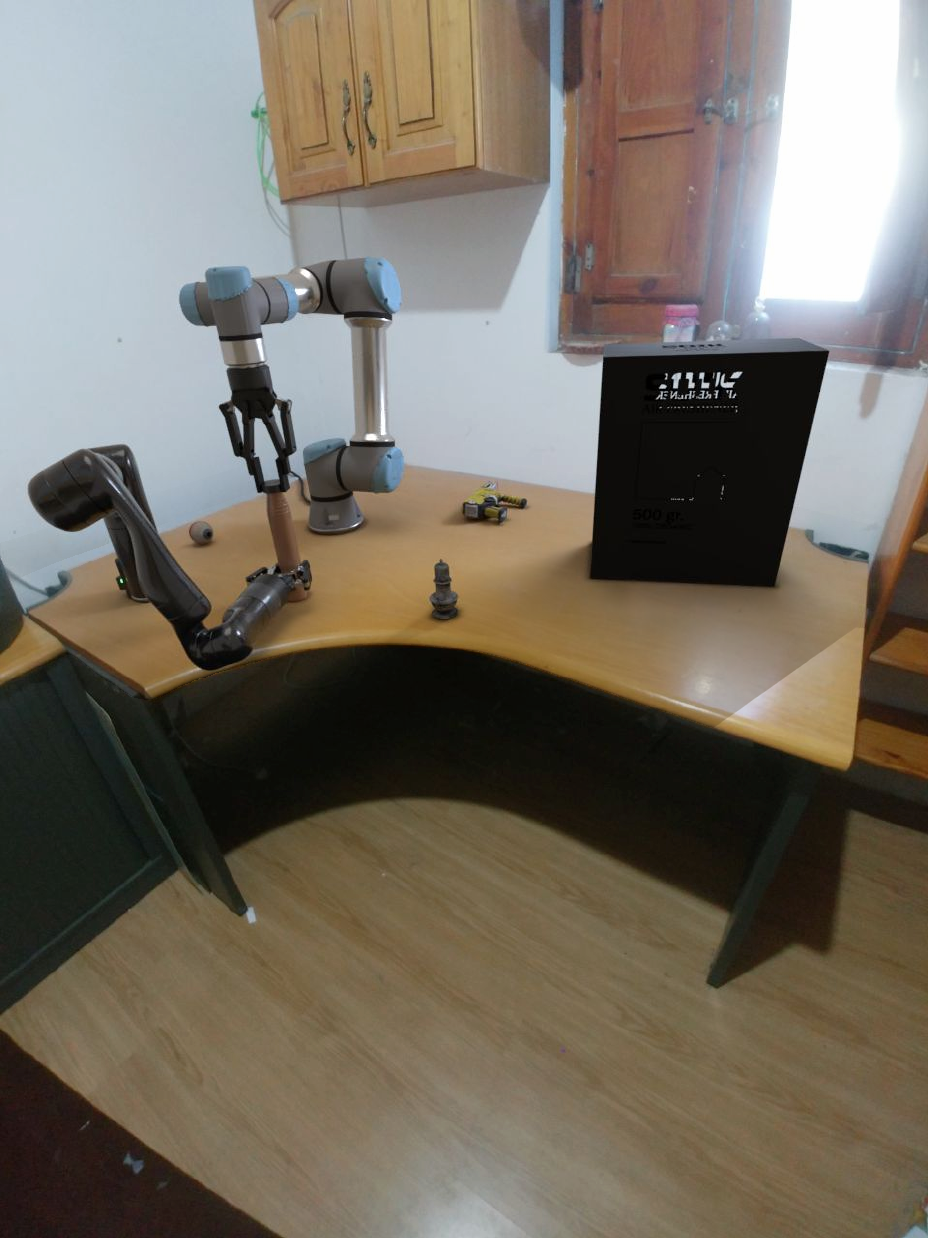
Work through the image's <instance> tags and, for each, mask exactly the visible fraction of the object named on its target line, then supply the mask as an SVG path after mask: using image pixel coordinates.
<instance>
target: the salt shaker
mask: <svg viewBox="0 0 928 1238" xmlns="http://www.w3.org/2000/svg"><path fill="white" fill-rule="evenodd" d="M438 561H439V562H437V563H435V564H434V568H433V570H434V578H433V580H432V581H433V583H434V587H435V591H434V592H432V593H431V594H430V595H429V597H428V600H429V601H430V603H431V605H432V607H433V608H434V609H433V610H432V611H431V615H432V616H433V618H436V619H439V620H448V619H452V618H454V617H456V616H457V615H458V614H459V610H458V608H457V607H456V605H457V603H458V600H459V594H458V592H456V591H453V590H452V587H451V586H452V585H451V582H452V577H450V566H449V563H447V562H444V560H443V559H442V558H440V559H439V560H438Z"/></svg>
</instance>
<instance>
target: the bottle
mask: <svg viewBox="0 0 928 1238" xmlns="http://www.w3.org/2000/svg"><path fill="white" fill-rule="evenodd" d="M265 495H266V497H265V500H266V501H265V503H266V504H265V507H266V515H267V516H266V517H267V521H268V524H269V529H270V534H271V537H272V542H273V546H274V551H275V555H276V560H277V562H278V565H279V569H280V574H281V573H285V572H287V571H288V570H290V569H296V568H297V567H298V566H299V565H300V564H301V563H302V561H301V556H300V553H299V551H300V550H299V547H298V541H297V537H296V533H295V532H296V531H295V528H294V523H293V518H292V514H291V513H292V512H291V508H290V505H289V504H288V501H287V498H286V495H285V494H284V492H279V493H273V494H266V493H265ZM298 576H299V573H298ZM307 597H308V591H305V590H304V588H302V587H301V588H296V590H295V591H293V592H291V593H290V596H289V599H288V601H287V602H299V601H303V600H305V599H306V598H307Z"/></svg>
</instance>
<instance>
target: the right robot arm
mask: <svg viewBox="0 0 928 1238" xmlns="http://www.w3.org/2000/svg"><path fill="white" fill-rule="evenodd" d="M204 278H205V281H194V282H190V283H185V284H184V285H183V286H182V287H181V289H180V290H179V294H178V302H179V307H180V311H181V313H182V314H183V316H184V318H185V319H186V321H188V322H189V323H190V324H192V325H194V326H196V327H206V328H208V327H216V331H217V337H218V340H219V346H220V350H221V355H222V360H223V364H224V365H225V366H228V367H227V368H226V370H225V372H226V376H227V377H226V378H227V381H228V385H229V388H230V389H229V390H230V392H231V395H230V400H228V401H224V402H222V403H220V404H219V405H218V409H219V411H220V413H221V414H222V417H224V420H225V424H226V428H227V432H228V436H229V439H230V444H231V448H232V451H233V454H234V455H233V456H235V457H236V458H243V459H244V460H245V463H246V467H247V472H248V474H249V476H253V480H254V483H255V488H256V493H257V494H262V493H263V491H262V488H261V483H262V482H264V481H265V477H264V473H263V469H262V464H261V460H260V459H261V458H260V456H256V455H257V453H256V452H255V451H256V449H255V447H256V446H255V422H256V419H258V420H261V422H262V424H263V425H264V426H265V429H266V431H267V433H268V435H269V438H270V440H271V442H272V445H273V447H274V450H275V452H276V455H277V458H275V459H274V462H275V466H276V470H277V476H278V479H279V481H280V485H281V490H282V492H283V493H287V492H288V491H289V490H290V489H291V486H290V485H291V484H290V481H289V474H291V475H293V476H295V477H296V478H297V479H298V480H299V482H300V494H301V496H302V498H303V500H304V501H305V502H306V503H308V504H310V507H309V513H308V523H307V524H308V528H309V529H308V530H310V531H311V532H312V533H314V534H317V535H323V536H324V535H325V536H327V535H329V536H331V535H339V534H340V535H341V534H345V533H350V532H353V531H355V530H357V529H359V528H361V527H362V526H363V525H364V523H365V519H364V514H363V512H362V510H361V508H360V505H359V504H358V501H357V500H356V498H355V495H354V492H359V493H374V494H375V495H377V494H390V493H392V492H394V491H396V489H397V488H398V487H399V485H400V483H401V481H402V479H403V476H404V470H405V456H404V454H403V450H402V449H401V448H399V447H398V446H396V440H395V438H394V437H393V436H392V435H391V434H390V423H389V386H388V385H389V384H388V382H389V381H388V353H387V352H388V343H387V330H388V329H389V328H390V327H391V326H392V324H393V315H394V314H397V313H398V312H399V311H400V309H401V305H402V289H401V284H400V281H399V277H398V274H397V273H396V270H395V268H394V267H393V265H392V264H391V263H390V261H388V260H387V258H386V259H385V258H384V257H371V256H366V257H357V258H356V257H355V258H347V259H346V258H345V259H331V260H325V261H321V262H317V263H313V264H309V265H307V266H302V267H295V268H292V269H291V270H289V271H288V273H283V274H273V275H263V276H254V277H253V276H252V274H251V271H250V269H249V268H248V267H247V266H245V265H233V266H215V267H214V266H213V267H208V268H207V269H206V270H205V272H204ZM297 313H298V314H301V315H310V314H318V315H319V314H322V315H331V316H332V315H333V316H334V315H335V316H343V322H344V323H345V325H347V327H348V328H349V330H350V345H351V348H350V349H351V369H352V371H351V372H352V393H353V394H352V395H353V416H354V419H353V420H354V433H353V435H352V436H350V438H349V445H347V441H346V439H345V438H342V437H334V438H328V439H323V440H320V441H319V440H318V441H316V442H313V443H309V444H308V445H306V446H305V447H304V448H303V450H302V457H303V458H302V460H303V467H304V471H305V477H306V481H307V486H308V492H309V498H310V499H309V498H307V496H306V494H305V491H304V490H305V488H304V480H303V479H302V477H301V476H300V474H297V473H296V472H294V471H292V469H291V463H290V456H292V455H293V454H295V453H296V452H297V451H298V450H297V442H296V437H295V431H294V424H293V418H292V405H293V402H292V400H291V399H289V398H287V399H283V398H280V397H278V395H277V393H276V391H275V390H274V386H273V379H272V375H271V370H270V366H268V364H267V363H266V362H267V361H268V355H267V350H266V345H265V340H264V335H263V329H262V326H266V325H273V324H284V323H286V322H289V321H291V320H293V319H294V318H295V317H296V315H297ZM275 406H277V410H278V411H279V414H280V415H279V417H280V423H281V428H282V433H281V431H280V429H279V426H278V423H277V422H276V421H277V420H276V415H275V413H274V411H273V410H274V409H275ZM236 409H237V410H238V411H239V412H240V413H241V423H242V433H241V429H240V426H239V421H238V417H237V414H236ZM242 434H243V435H242ZM282 435H283V436H282ZM242 437H243V438H242Z"/></svg>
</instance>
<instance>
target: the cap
mask: <svg viewBox="0 0 928 1238" xmlns="http://www.w3.org/2000/svg"><path fill="white" fill-rule="evenodd" d="M261 488H262V491H263V492H262V493H263V494H265V495H266V494H273V493H279V492H282V490H281V485H280V481H279V478H277V479H276V478H275V479H267V480H264V482H262V483H261Z"/></svg>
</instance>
